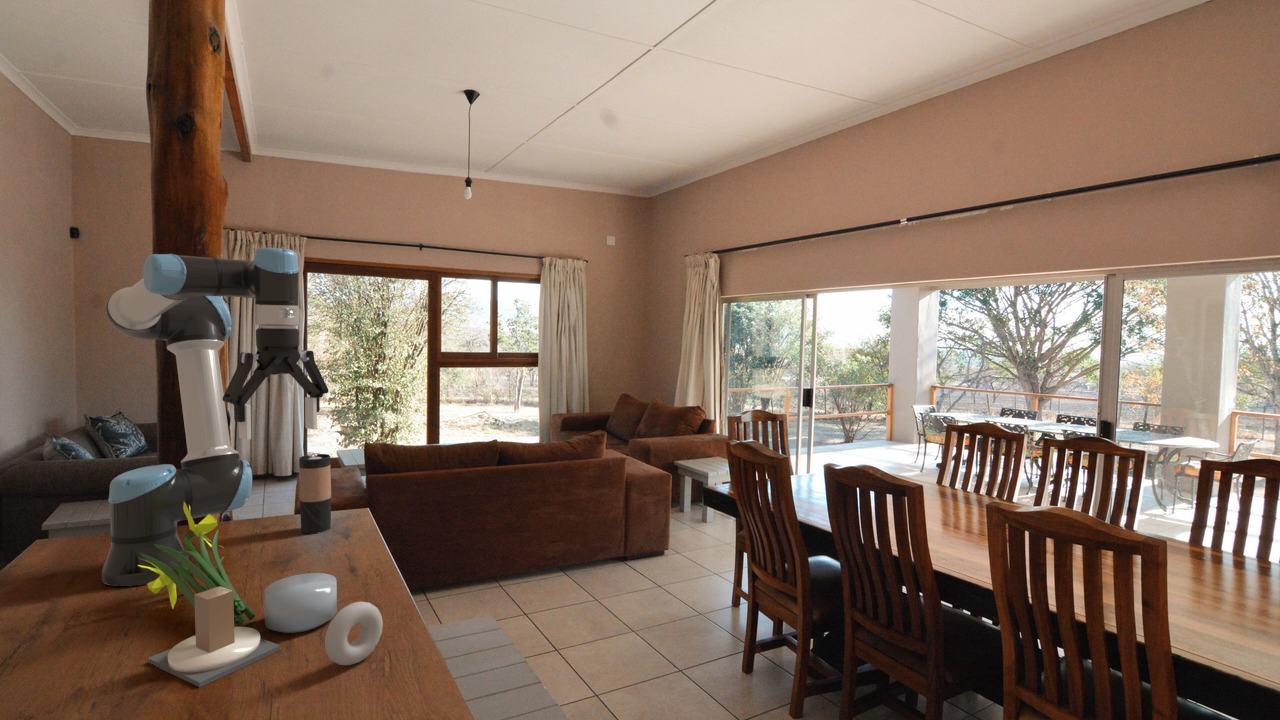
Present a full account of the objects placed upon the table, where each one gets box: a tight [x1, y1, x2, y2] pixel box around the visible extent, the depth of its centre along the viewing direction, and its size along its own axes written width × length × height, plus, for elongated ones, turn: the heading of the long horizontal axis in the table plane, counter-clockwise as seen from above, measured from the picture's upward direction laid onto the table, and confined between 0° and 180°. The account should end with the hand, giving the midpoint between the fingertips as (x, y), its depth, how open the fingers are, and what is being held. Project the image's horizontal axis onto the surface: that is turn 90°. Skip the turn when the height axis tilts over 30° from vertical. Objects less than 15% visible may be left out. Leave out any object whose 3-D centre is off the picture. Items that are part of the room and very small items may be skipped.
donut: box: [324, 601, 384, 666], centre depth 107 cm, size 10×4×10 cm, turn 148°
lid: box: [168, 586, 261, 673], centre depth 108 cm, size 13×13×10 cm
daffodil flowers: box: [138, 502, 256, 627], centre depth 126 cm, size 17×15×35 cm
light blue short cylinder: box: [263, 572, 338, 634], centre depth 121 cm, size 12×12×7 cm
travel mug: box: [298, 453, 332, 534], centre depth 174 cm, size 8×8×20 cm
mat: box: [147, 637, 281, 688], centre depth 109 cm, size 15×13×1 cm
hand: (279, 433), depth 129 cm, fingers open, 13 cm apart
